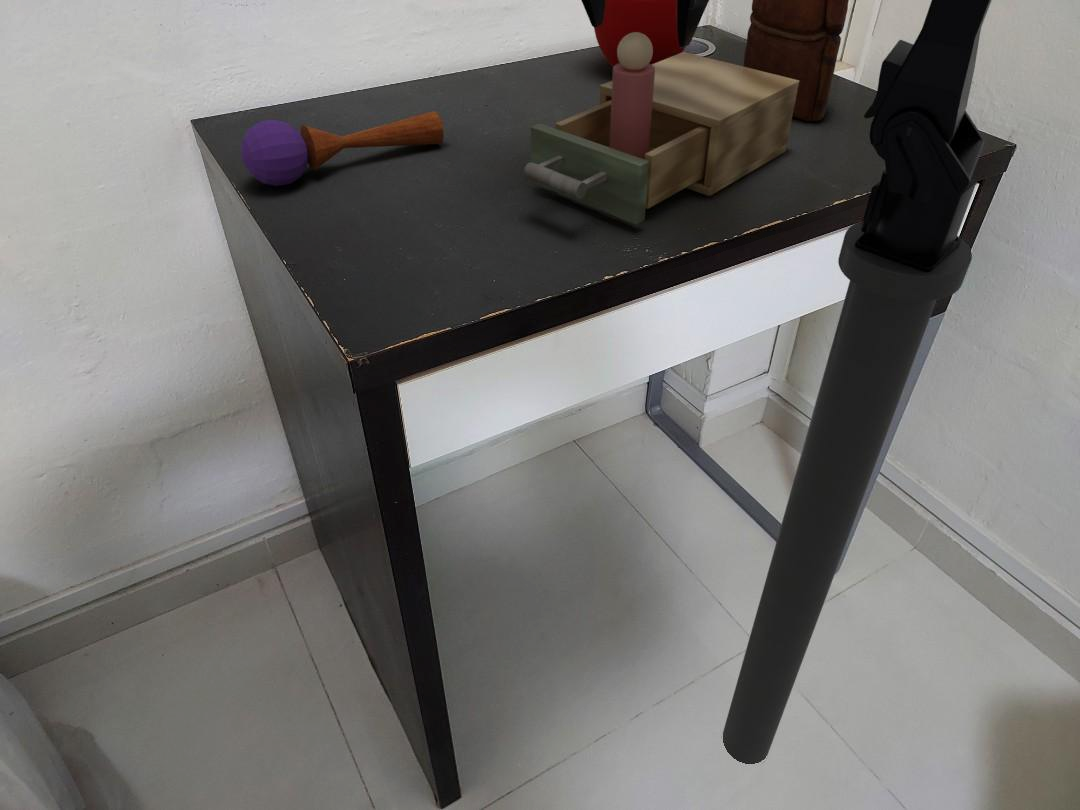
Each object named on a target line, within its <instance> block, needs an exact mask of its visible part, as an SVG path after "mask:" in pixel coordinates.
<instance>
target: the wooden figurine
mask: <svg viewBox="0 0 1080 810" xmlns="http://www.w3.org/2000/svg"><path fill="white" fill-rule="evenodd" d="M849 2H850V0H752V2H751V14H750V15H749V21H750V25H749V27H748V29H747V35H746V36H747V37H746V44H745V49H744V55H743V67H747V68H751V69H755V70H759V71H763V72H767V73H771V74H775V75H779V76H783V77H787V78H791V79H795V80H799V85H798V89H797V95H796V100H795V105H794V110H793V115H792V118H796V119H799V120H802V121H805V122H819V121H821V120H822V119H823V118H824V116H825V114H826V111H827V107H828V103H829V98H830V93H831V90H832V89H831V88H832V83H833V78H834V74H835V70H836V63H837V60H838V54H839V51H840V46H841V44H842V43H841V42H842V37H841V34H842V33H843V31H844V28H845V23H846V20H847V19H846V18H847V14H848V10H849Z"/></svg>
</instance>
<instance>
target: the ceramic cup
mask: <svg viewBox="0 0 1080 810" xmlns="http://www.w3.org/2000/svg"><path fill="white" fill-rule="evenodd" d="M593 30H594V34H595V38H596V39H595V40H596V42H597V43H598V47H599V49H600V51H601V53H602V55H603V56H604V57H605V59H606V60H607V62H608V63H609V65H610V66H611V67H612V68H613V67H614V66H615V65H616V64H619V63H620V62H619V60H618V56H617V49H618V45H619V43H620V41H621V40H622V39H623V38H624V37H625V36H626V35H628V34H630V33H633V32H639V33H642V34H644V35H646V36H647V37H648V38H649V39H650V41H651V43H652V47H653V55H652V58H651V61H650V62H649V64H651V65H652V64H655V63H657V62H660V61H662V60H665V59H667V58H670V57H672V56H675V55H677V54H679V53H682V52H684V50H685V49H686V47H680V46H679V43H678V34H677V0H605V12H604V19H603V24H602V25H601V26H599V27H593Z"/></svg>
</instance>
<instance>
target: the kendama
mask: <svg viewBox="0 0 1080 810" xmlns="http://www.w3.org/2000/svg"><path fill="white" fill-rule="evenodd" d="M444 131H445V130H444V125H443V121H442V118H441V116H440V115H439V113H438V112H437V111H436V110H432V111H428V112H425V113H424V112H423V113H422V114H417V115H415V116H410V117H406V118H403V119H399V120H396V121H393V122H389V123H385V124H381V125H379V126H375V127H371V128H368V129H364V130H361V131H357V132H354V133H351V134H347V135H343V136H341V135H337V134H335V133H331V132H328V131H325V130H322V129H318V128H315V127H312V126H309V125H305V124H303V125H301V127H300V131H298V130H297V129H296V128H294V127H293V126H292V125H290V124H289V123H288V122H286V121H281V120H278V119H267V120H261V121H259V122H257V123H256V124H254V125H253V126H251V127H250V128H248V129H247V131H246V132H245V134H244V136H243V138H242V140H241V148H240V156H241V157H240V158H241V161H242V163H243V165H244V166H245V168H246V170H247V172H248V173H249V174H250V175H251V177H253V178H254V179H256V180H257V181H259V182H260V183H261V184H264V185H268V186H273V187H280V186H285V185H291V184H293V183H294V182H295V181H297V180H299V179H300V178H301V177H302V176H303V174H304V172H305V170H306V168H307V166H308V167H309V169H311V170H312V171H316V170H317V169H319V168H320V167H321V166H323V165H324V164H326V162H328V161H330V159H332V158H333V157H335V156H336V155H337V154H338V153H340V152H341V151H342V150H344V149H357V148H360V149H361V148H379V147H381V148H382V147H403V146H427V145H441V144H442V142H443V141H444V137H445V136H444V135H445V133H444Z"/></svg>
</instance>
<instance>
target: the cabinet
mask: <svg viewBox="0 0 1080 810" xmlns="http://www.w3.org/2000/svg"><path fill="white" fill-rule="evenodd" d="M652 65H653V66H654V67H655V78H654V91H653V104H652V109H653V110H656V111H659V112H662V113H666V114H669V115H672V116H676V117H679V118H682V119H686V120H689V121H692V122H695V123H699V124H702V125H705V126H709V127H711V132H710V140H709V147H708V155H707V163H706V171H705V177H704V178H702V179H700V180H698V181H697V182H695V183H693V184H691V185H690V186H688V187H686V188H685V189H688V190H690V191H693V192H696V193H699V194H701V195H703V196H704V195H705V196H707V197H711V196H713V195H714V194H716V193H718V192H719V191H721V190H723V189H725V188H727V187H728V186H730V185H731V184H733V183H735V182H736V181H738V180H740V179H741V178H743V177H745V176H747V175H748V174H750V173H751V172H754V171H755V170H756V169H759V168H761V167H763V166H764V165H765V164H768V163H769V162H770V161H772V160H774V159H775V158H777V157H779V156H781V155H783V154H784V153H786V151H787V146H788V145H787V144H788V140H789V135H790V130H791V126H792V121H793V116H792V115H793V110H794V105H795V100H796V95H797V89H798V85H799V80H795V79H791V78H787V77H783V76H779V75H775V74H771V73H767V72H763V71H759V70H755V69H751V68H747V67H743V66H744V65H743V66H742V65H740V64H739V65H738V64H735V63H730V62H727V61H722V60H718V59H715V58H710V57H706V56H703V55H702V56H701V55H699V54H693V53H691V52H686V51H683V52H682V53H679V54H677V55H675V56H672V57H670V58H667V59H665V60H662V61H660V62H657V63H655V64H652ZM610 100H612V80H610V81H607V82H605V83H602V84H600V85H599V105H600V104H603V103H605V102H607V101H610Z"/></svg>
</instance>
